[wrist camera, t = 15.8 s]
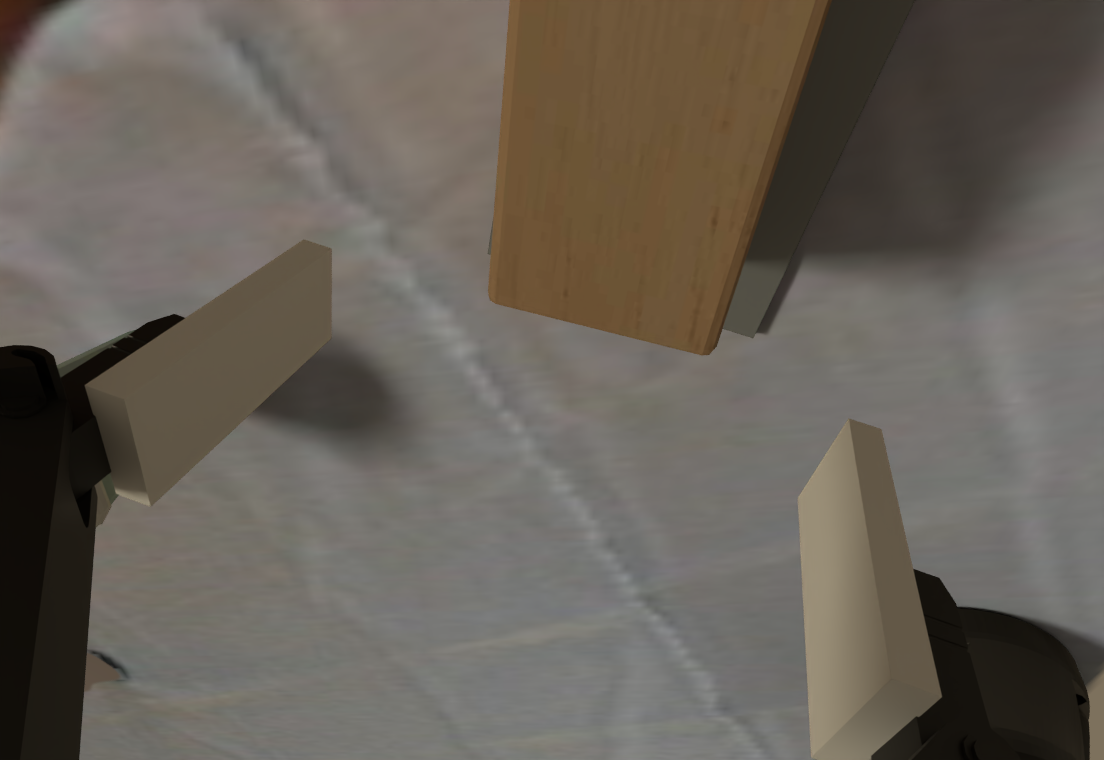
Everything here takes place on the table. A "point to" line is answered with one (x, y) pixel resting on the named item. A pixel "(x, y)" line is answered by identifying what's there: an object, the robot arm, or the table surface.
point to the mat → (814, 144)
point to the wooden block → (641, 156)
